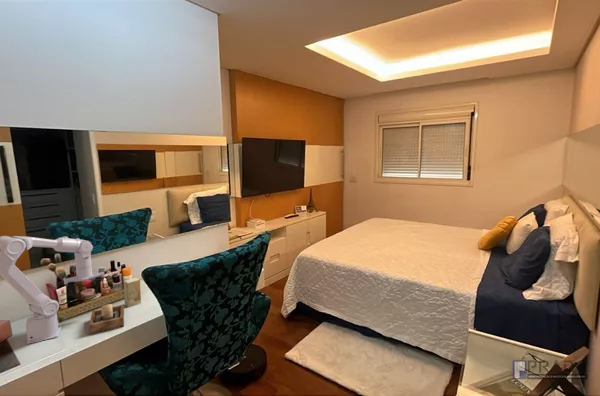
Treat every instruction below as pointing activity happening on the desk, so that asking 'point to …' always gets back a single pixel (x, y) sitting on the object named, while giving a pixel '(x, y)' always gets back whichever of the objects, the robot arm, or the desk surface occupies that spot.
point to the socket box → (100, 326)
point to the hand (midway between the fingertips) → (86, 295)
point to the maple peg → (107, 312)
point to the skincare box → (132, 292)
